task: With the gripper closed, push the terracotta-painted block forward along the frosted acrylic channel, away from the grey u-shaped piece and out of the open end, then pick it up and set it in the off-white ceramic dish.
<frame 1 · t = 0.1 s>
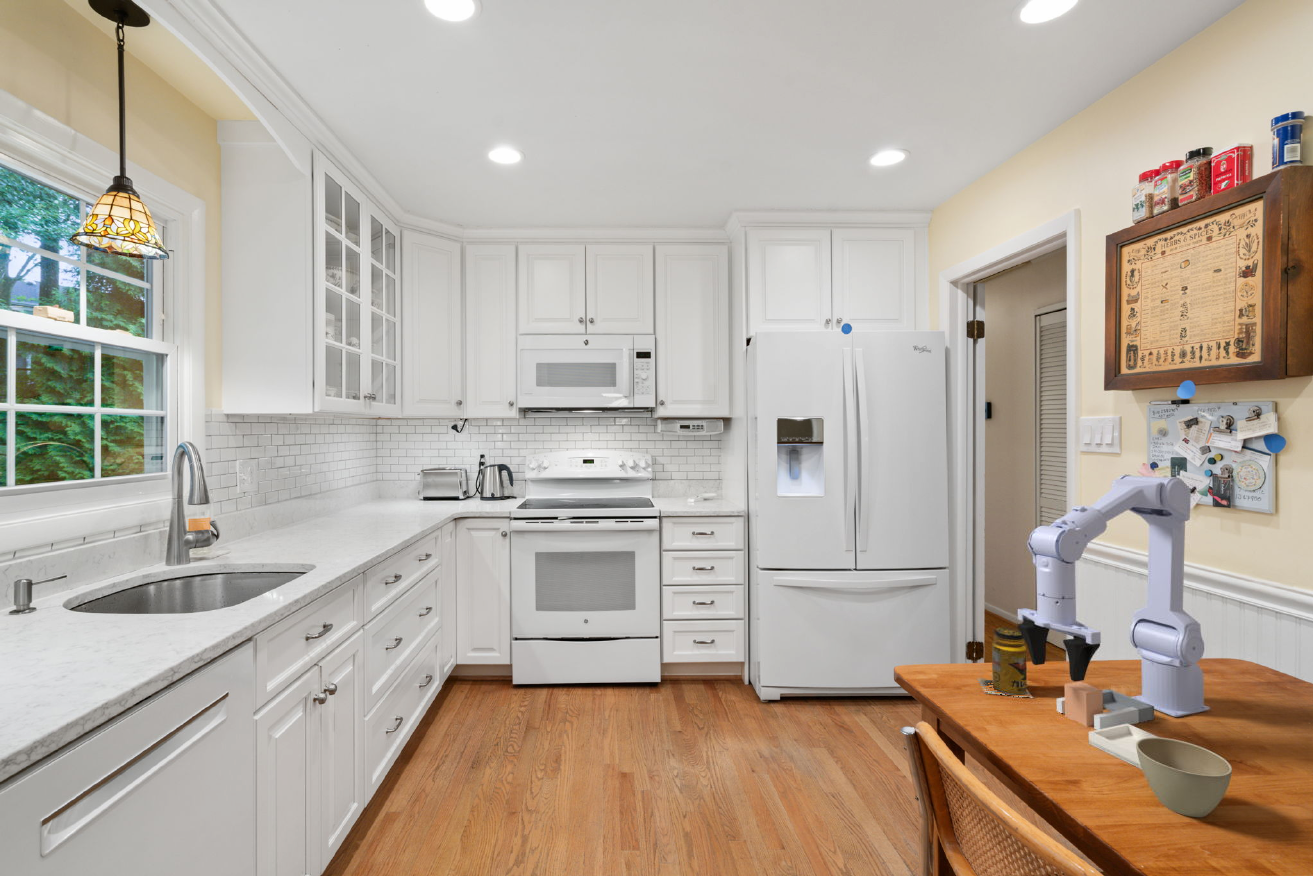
hand: (1057, 671, 105), 10 cm above the table, tool pointing down, fingers open, 7 cm apart
channel: (1096, 717, 109), on the table
condiment: (1004, 690, 122), on the table
grey u-shaped piece: (1123, 711, 111), on the table
block: (1083, 720, 108), on the table
beige bowl: (1183, 808, 83), on the table
tray: (1136, 752, 97), on the table
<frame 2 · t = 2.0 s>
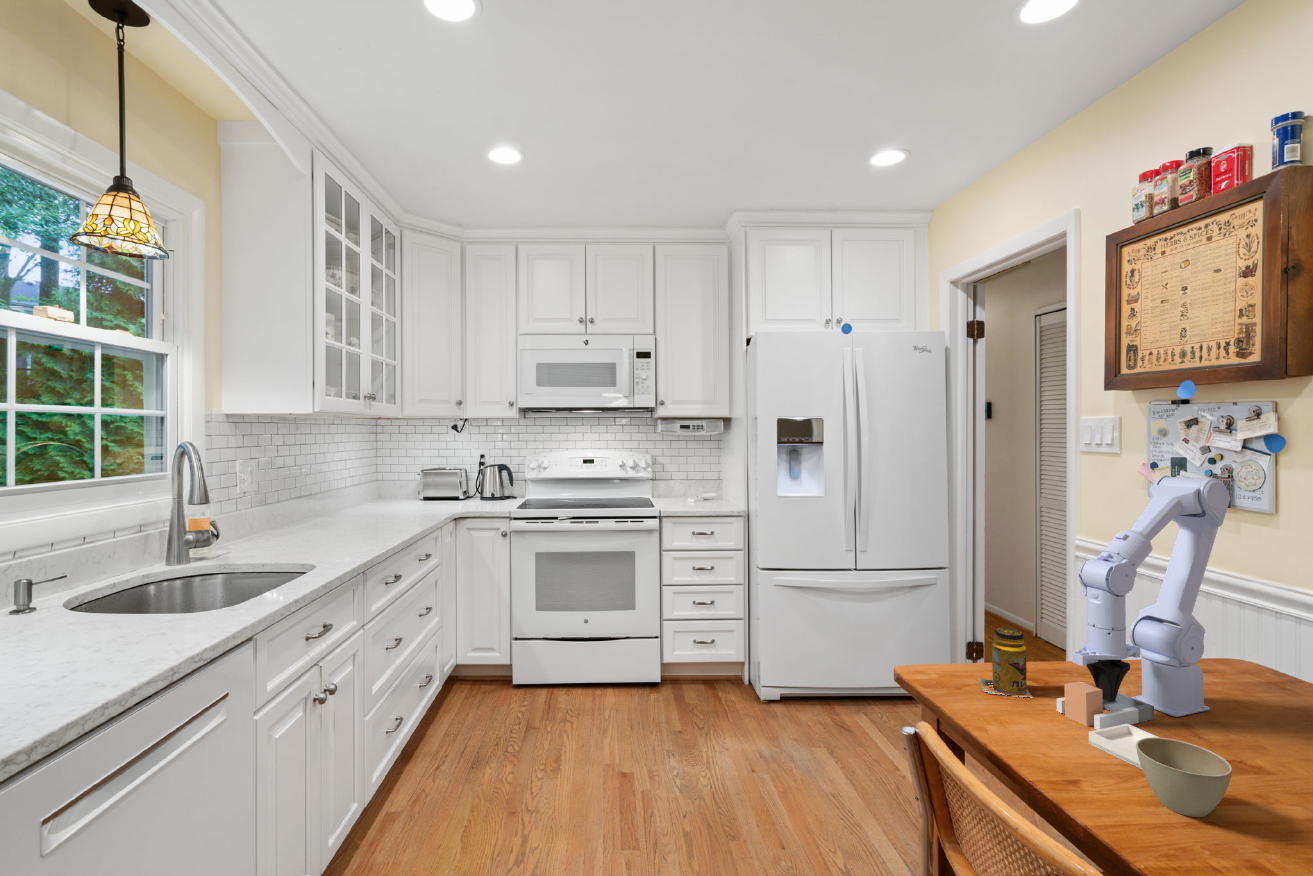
hand: (1107, 699, 110), 3 cm above the table, tool pointing down, fingers closed
nothing on the table moved.
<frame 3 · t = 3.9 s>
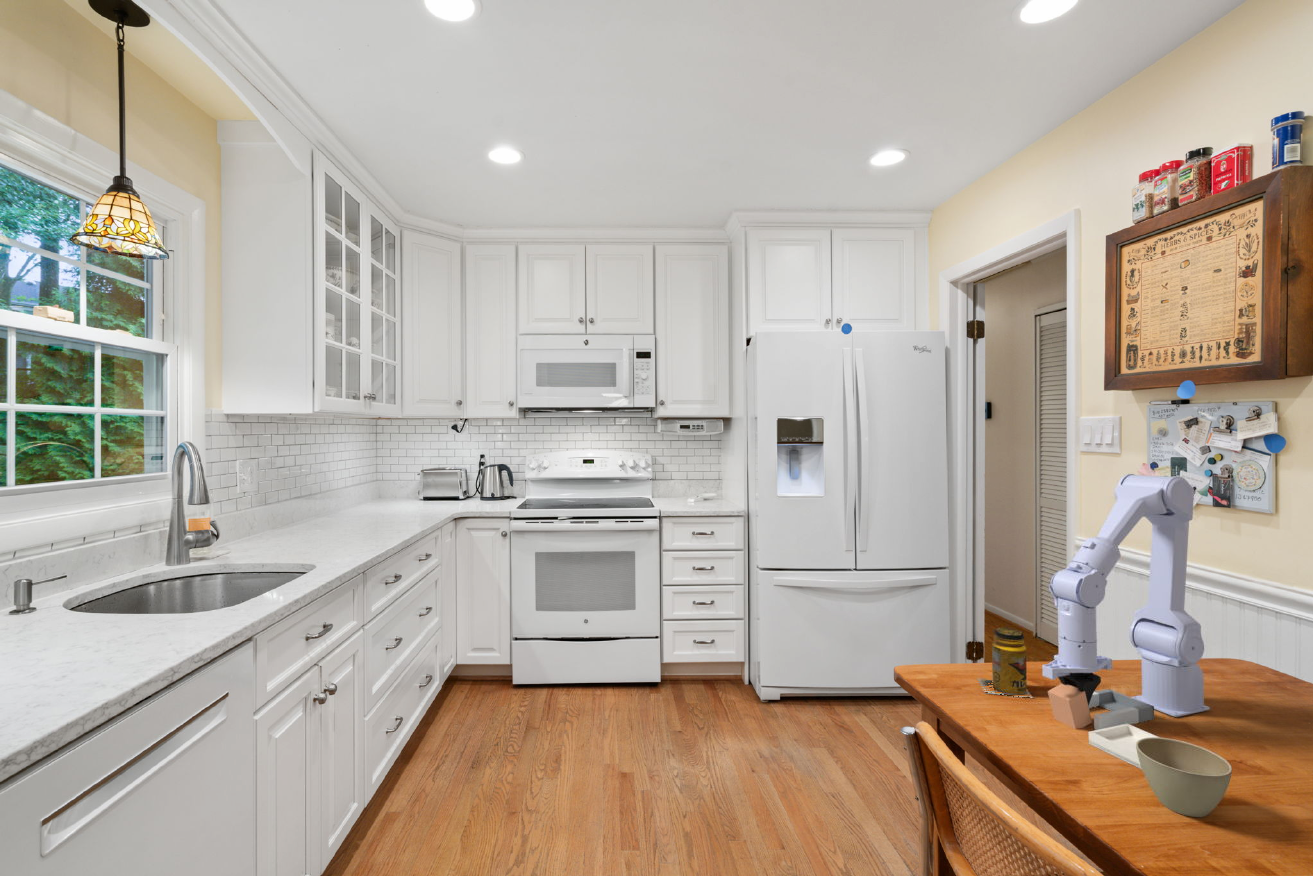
hand: (1078, 712, 108), 1 cm above the table, tool pointing down, fingers closed, pressing on block
block: (1073, 721, 107), on the table, tilted 16°, touching gripper
everything else where it was.
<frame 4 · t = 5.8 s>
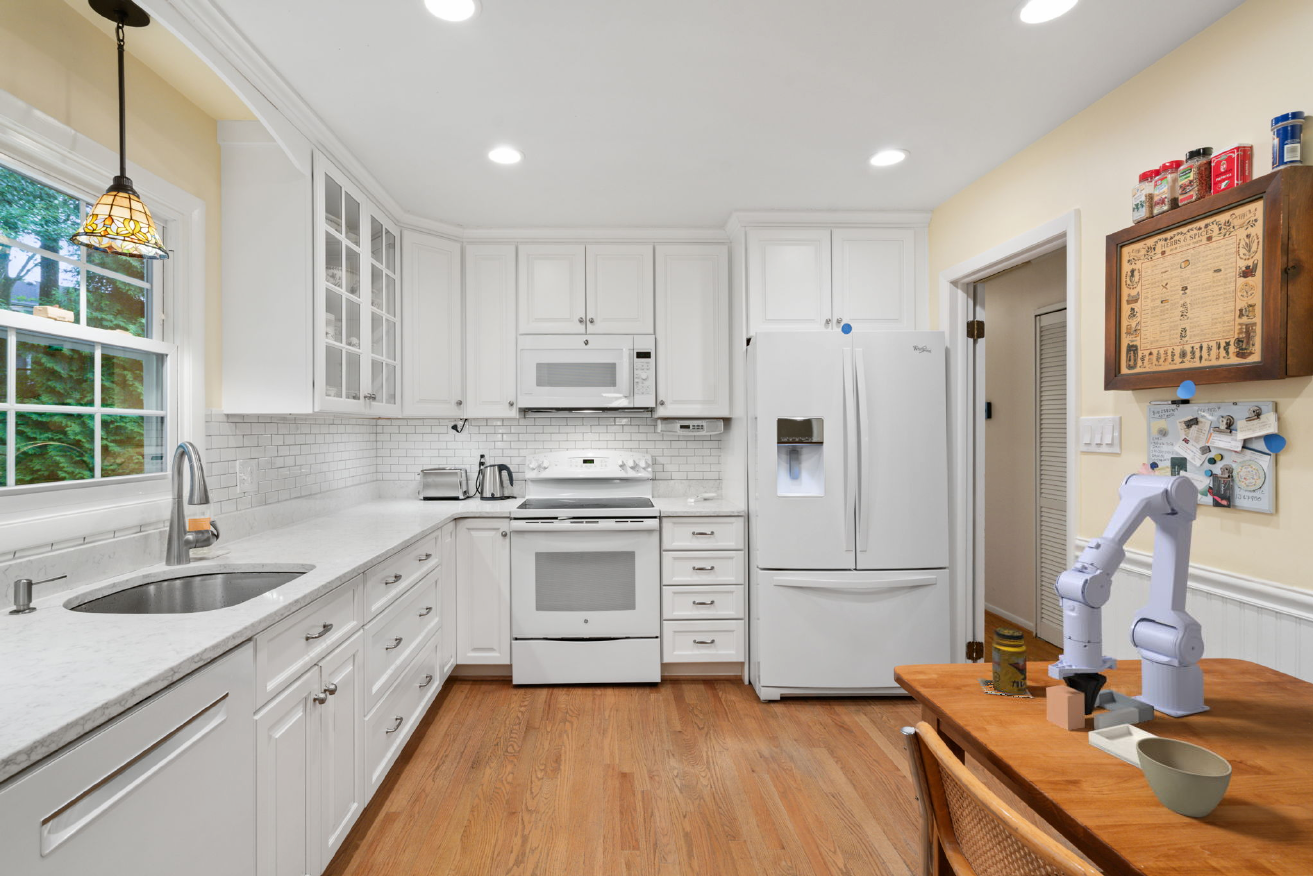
hand: (1083, 712, 108), 1 cm above the table, tool pointing down, fingers closed
block: (1065, 723, 107), on the table
everything else where it was.
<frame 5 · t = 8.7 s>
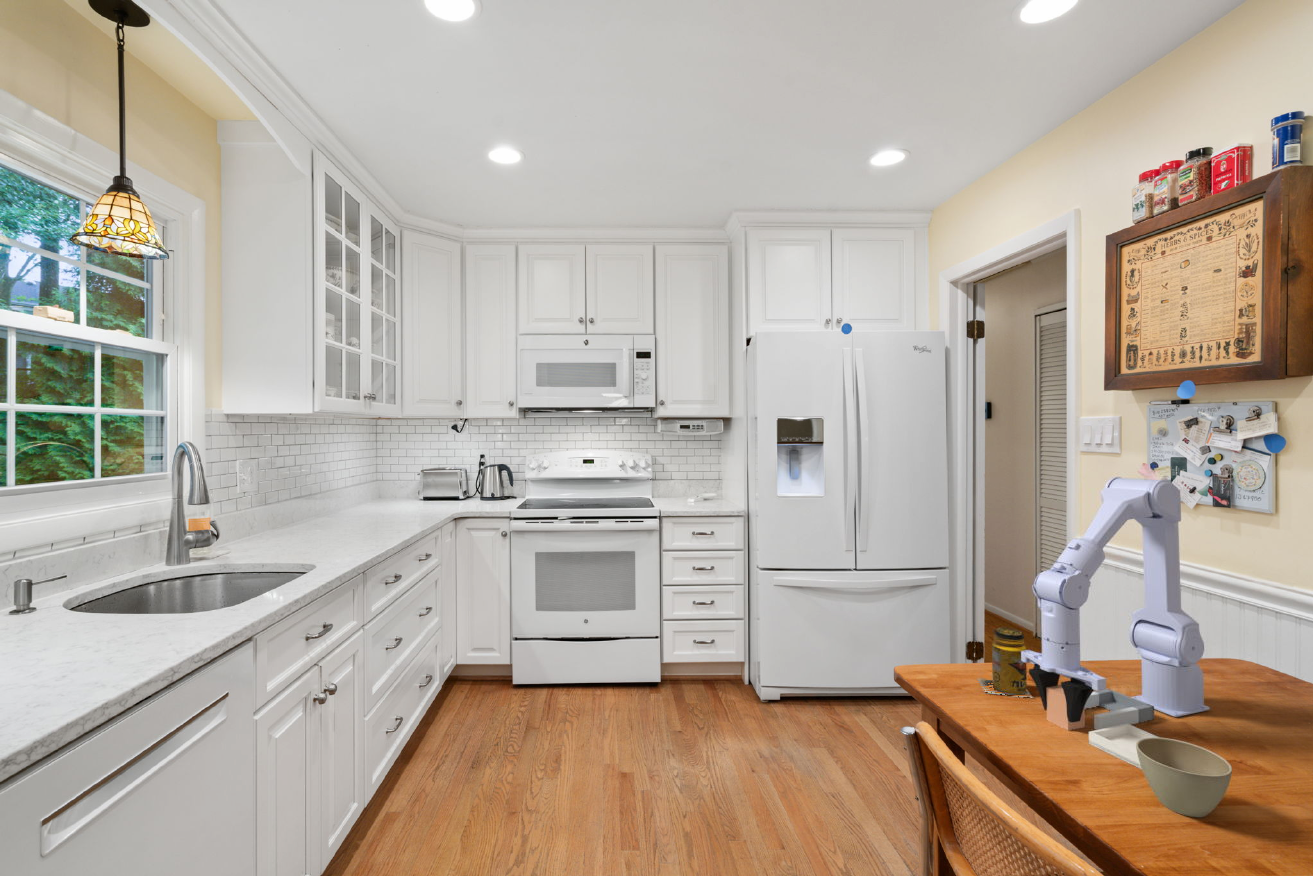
hand: (1061, 715, 107), 2 cm above the table, tool pointing down, fingers closed on block, 4 cm apart
block: (1065, 723, 107), on the table, touching gripper
everything else where it was.
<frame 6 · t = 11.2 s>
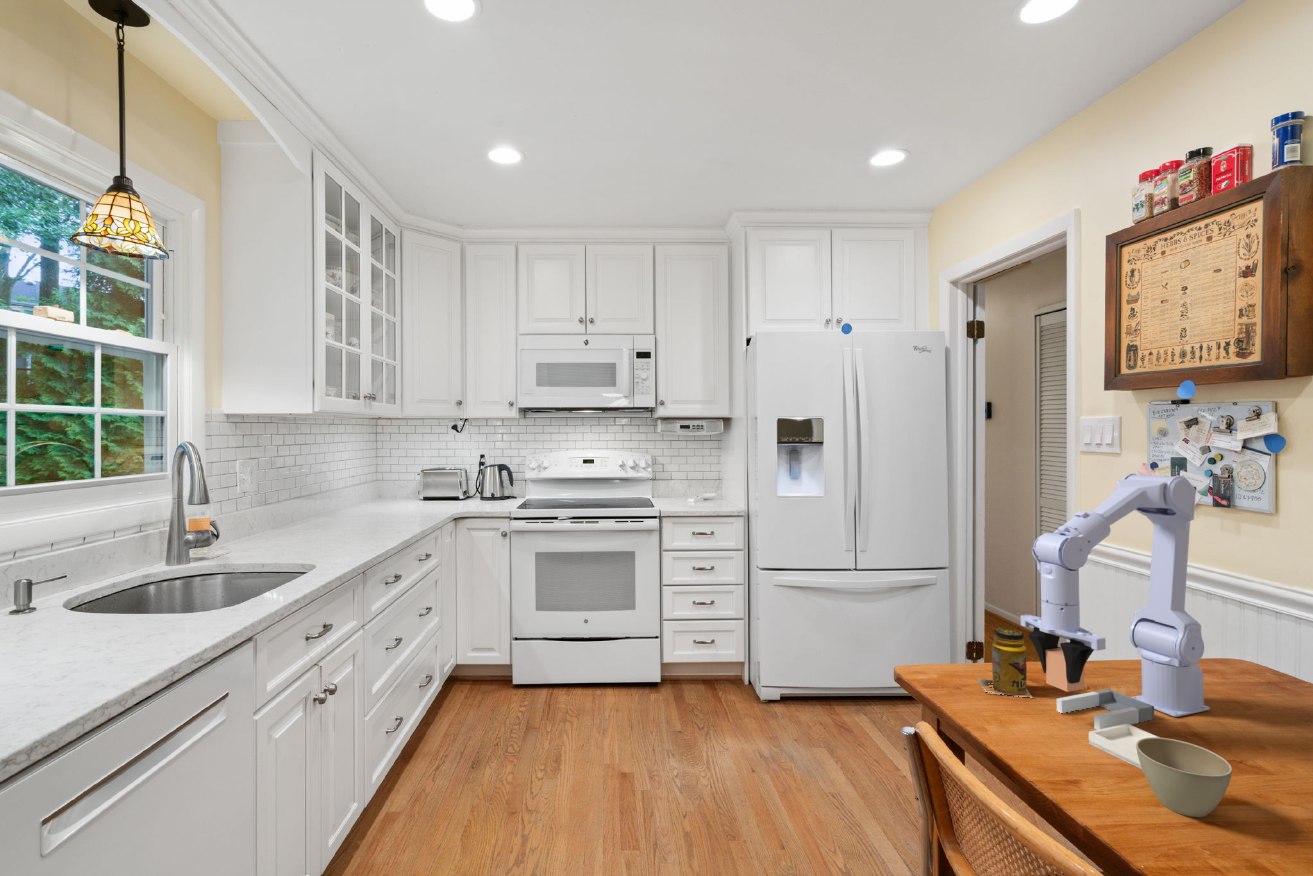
hand: (1061, 677, 107), 8 cm above the table, tool pointing down, fingers closed on block, 4 cm apart
block: (1064, 685, 107), point 7 cm above the table, touching gripper
everything else where it was.
when the fingers open (3 cm above the table, at t = 13.7 s): block drops 1 cm, resting on tray.
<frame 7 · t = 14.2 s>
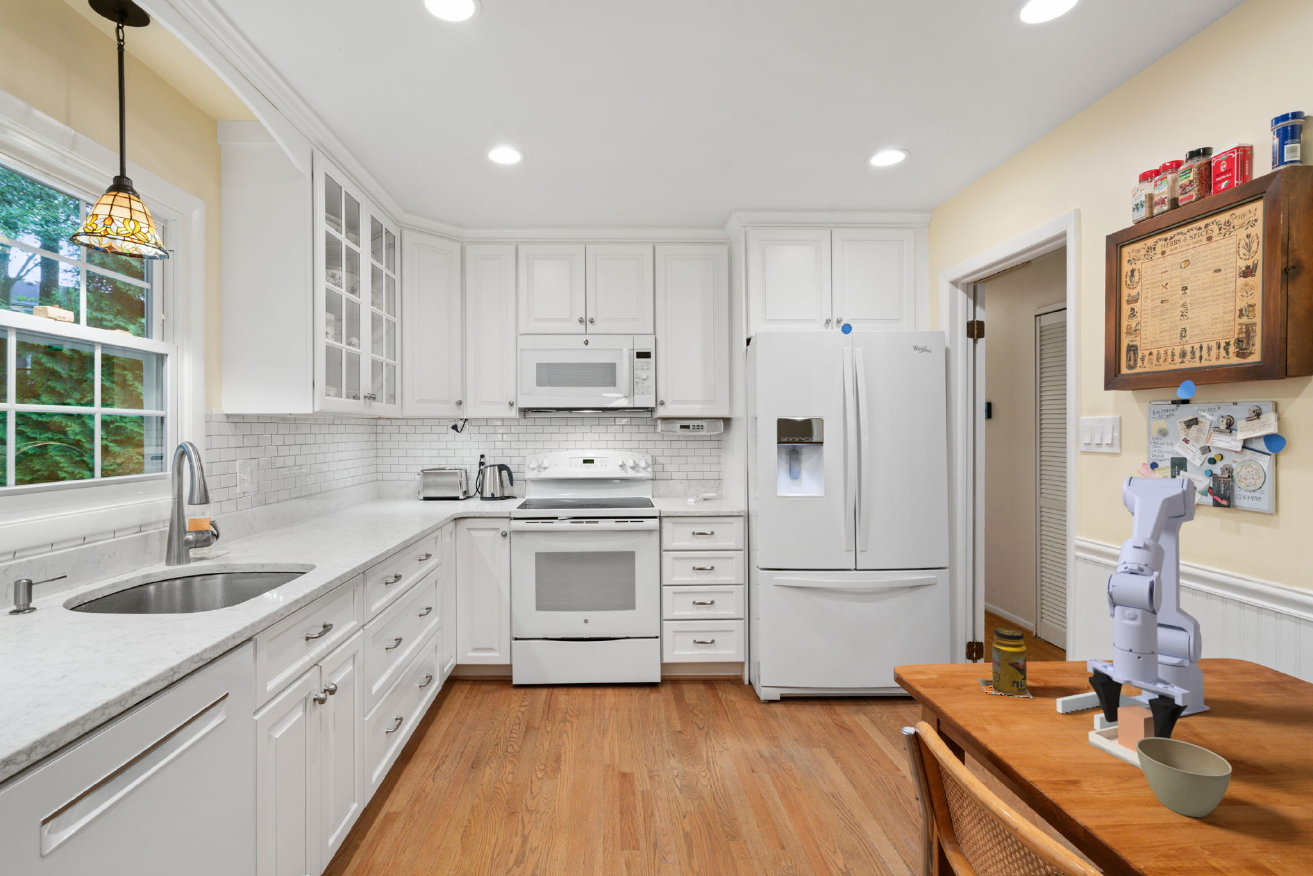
hand: (1136, 731, 97), 3 cm above the table, tool pointing down, fingers open, 7 cm apart
block: (1139, 747, 97), point 1 cm above the table, touching tray
everything else where it was.
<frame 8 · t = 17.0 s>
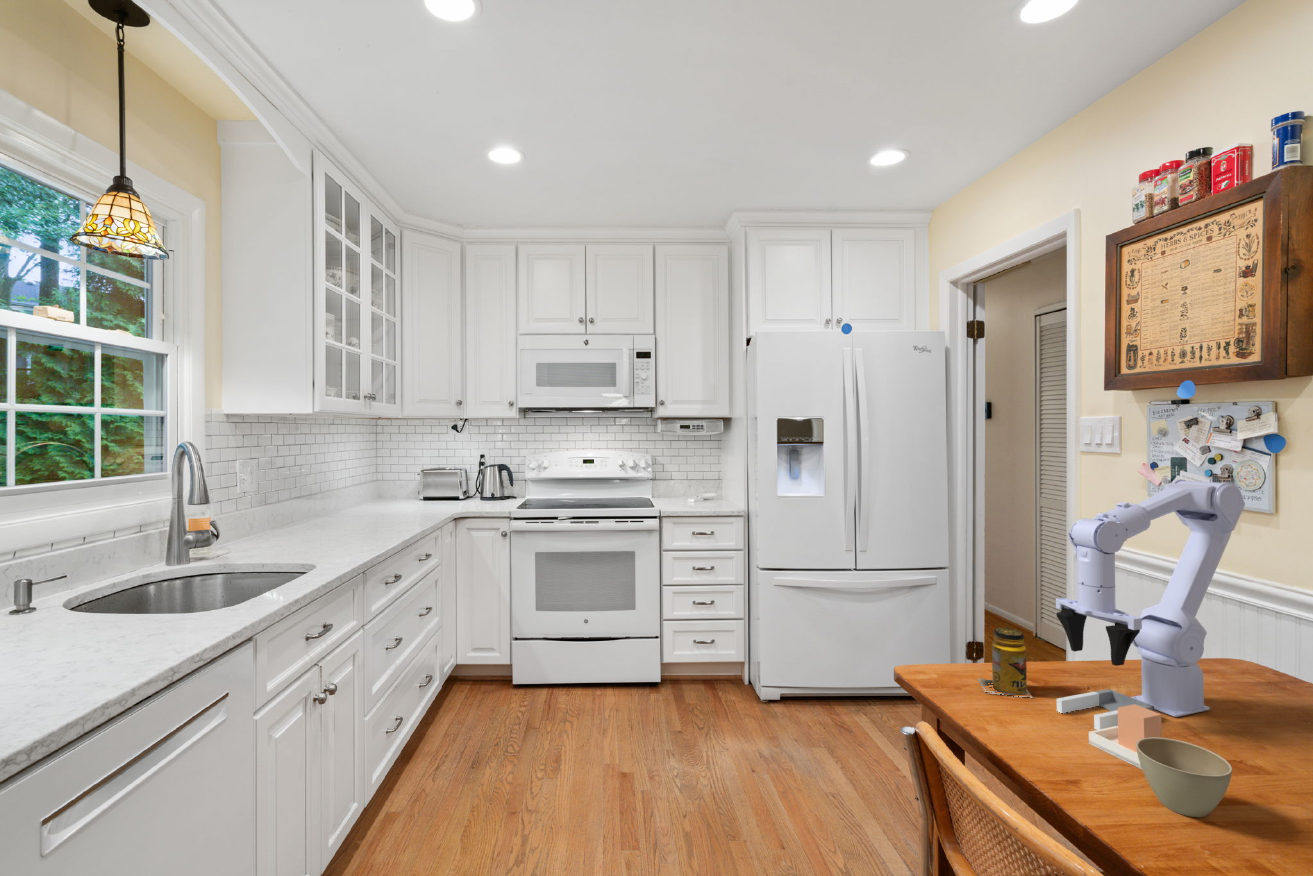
hand: (1096, 657, 111), 10 cm above the table, tool pointing down, fingers open, 7 cm apart
nothing on the table moved.
at the end: block 0.8 cm off-centre on the tray, point 0.6 cm above the tray's base; block tilted 0°; the gripper is holding nothing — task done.
